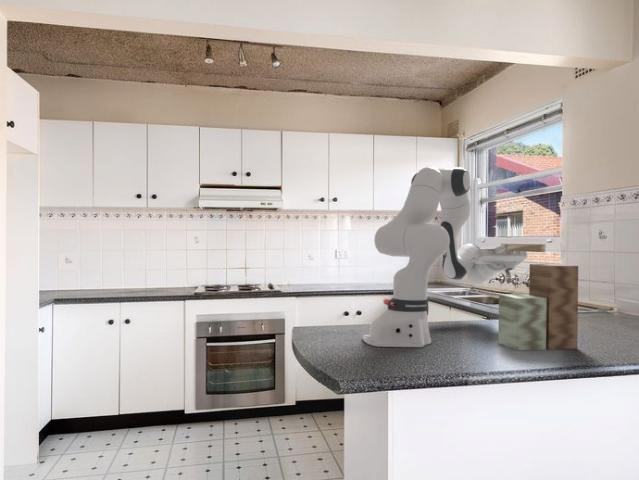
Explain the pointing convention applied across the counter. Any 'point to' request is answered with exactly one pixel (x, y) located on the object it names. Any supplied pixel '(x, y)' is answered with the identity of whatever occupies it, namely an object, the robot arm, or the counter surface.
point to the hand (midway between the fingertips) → (510, 245)
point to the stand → (542, 311)
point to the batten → (526, 247)
